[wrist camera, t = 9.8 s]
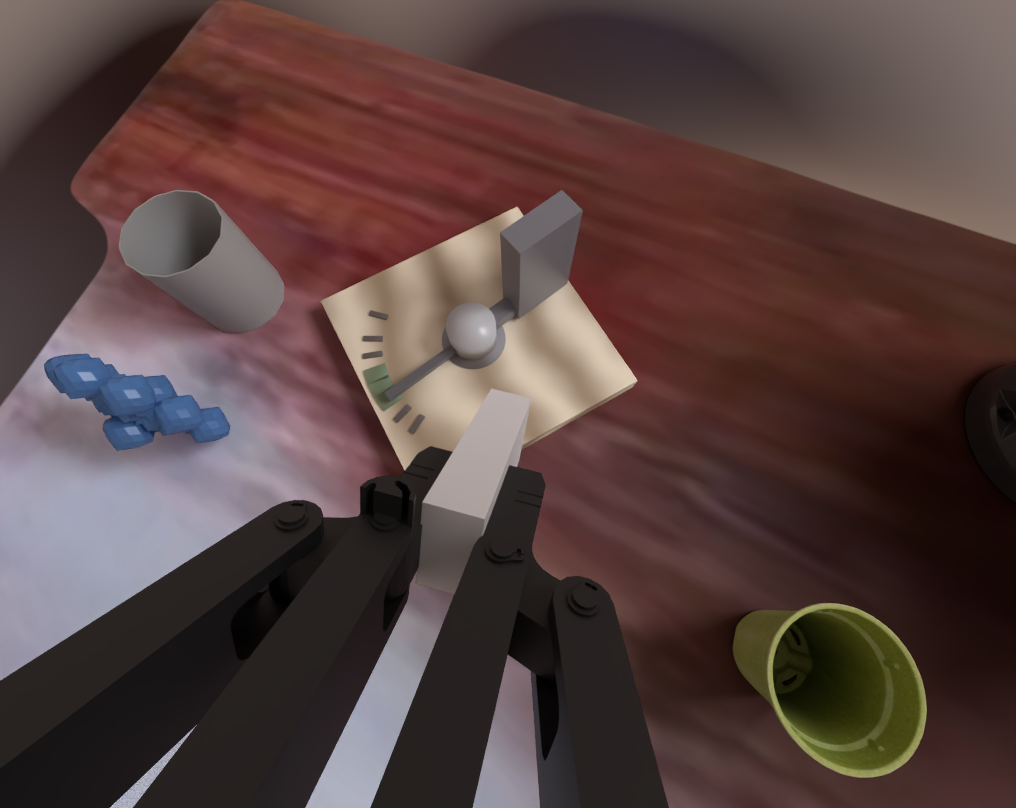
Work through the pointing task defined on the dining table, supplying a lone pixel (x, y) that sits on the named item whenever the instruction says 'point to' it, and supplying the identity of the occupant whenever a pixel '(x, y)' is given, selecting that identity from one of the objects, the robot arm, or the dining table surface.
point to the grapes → (134, 402)
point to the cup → (202, 260)
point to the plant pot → (836, 685)
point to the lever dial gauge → (512, 282)
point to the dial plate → (459, 381)
